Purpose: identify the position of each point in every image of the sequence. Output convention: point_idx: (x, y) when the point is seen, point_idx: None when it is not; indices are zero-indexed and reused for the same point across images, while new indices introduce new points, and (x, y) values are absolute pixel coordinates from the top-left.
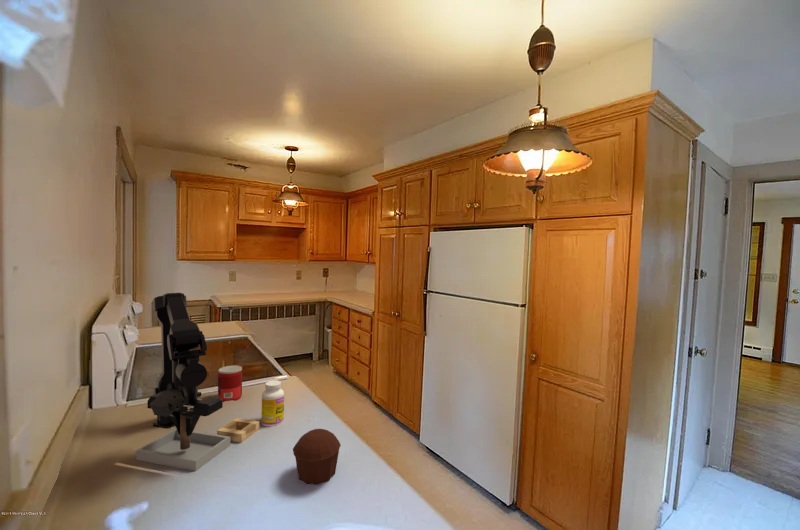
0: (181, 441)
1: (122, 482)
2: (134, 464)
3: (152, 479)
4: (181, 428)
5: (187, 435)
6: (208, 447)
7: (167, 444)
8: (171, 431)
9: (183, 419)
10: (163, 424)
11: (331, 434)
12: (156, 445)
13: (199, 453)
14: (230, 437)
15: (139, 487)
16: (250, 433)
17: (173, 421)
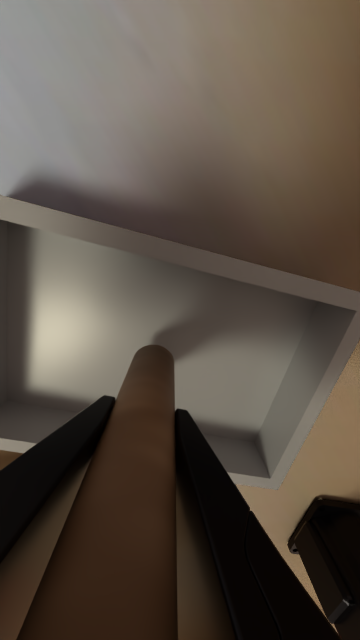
0: (155, 367)
1: (311, 114)
2: (328, 271)
3: (179, 143)
4: (142, 442)
5: (109, 397)
6: (77, 390)
7: (264, 402)
8: (284, 466)
9: (67, 620)
10: (346, 513)
11: None
12: (300, 376)
13: (84, 346)
14: (8, 451)
15: (202, 61)
16: None
17: (269, 542)
